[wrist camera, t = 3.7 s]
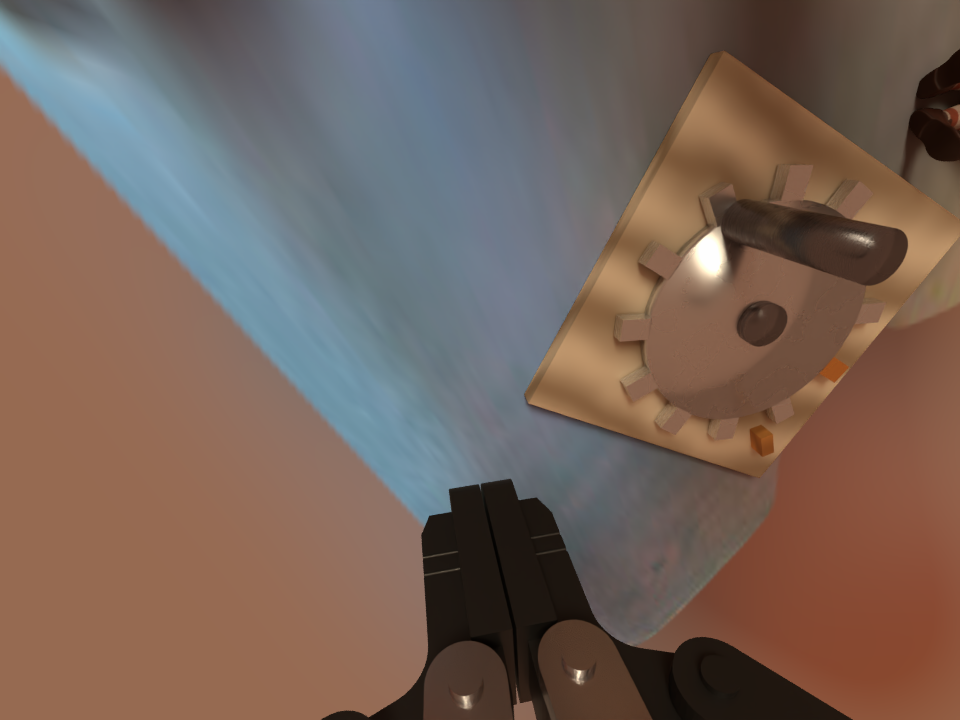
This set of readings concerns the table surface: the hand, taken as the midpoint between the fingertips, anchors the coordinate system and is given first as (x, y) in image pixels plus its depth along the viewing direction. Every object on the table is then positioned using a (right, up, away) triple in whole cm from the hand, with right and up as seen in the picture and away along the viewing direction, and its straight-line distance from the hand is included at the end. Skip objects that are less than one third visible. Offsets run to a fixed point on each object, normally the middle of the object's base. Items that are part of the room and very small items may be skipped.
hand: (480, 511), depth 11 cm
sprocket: (+22, +7, +28) cm, 36 cm away
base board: (+22, +8, +29) cm, 38 cm away
